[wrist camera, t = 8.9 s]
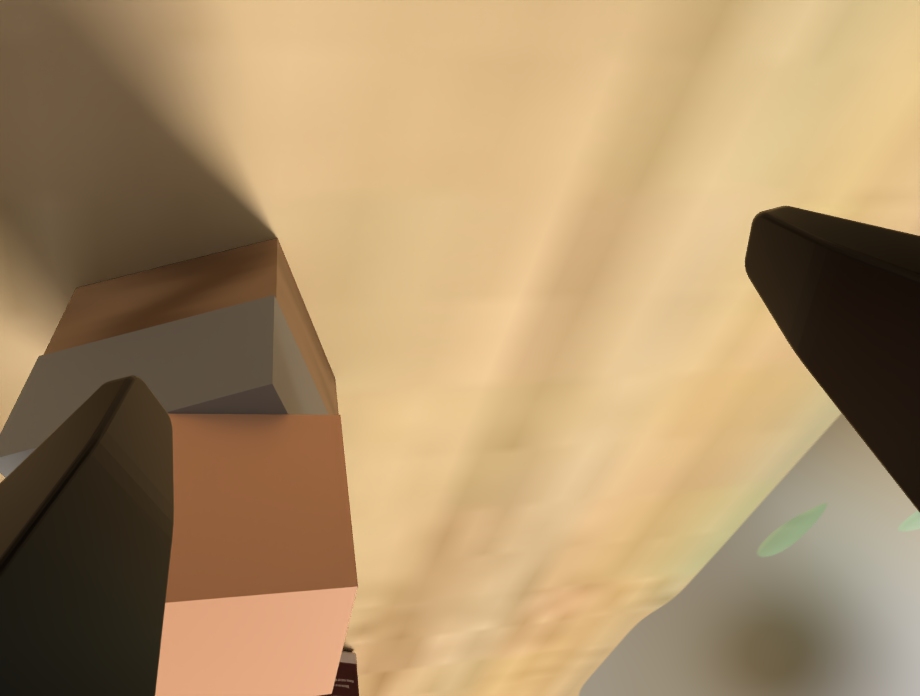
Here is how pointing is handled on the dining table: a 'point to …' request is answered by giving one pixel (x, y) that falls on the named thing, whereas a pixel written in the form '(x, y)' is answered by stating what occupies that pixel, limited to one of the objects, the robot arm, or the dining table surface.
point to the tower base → (196, 302)
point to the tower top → (172, 373)
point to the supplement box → (346, 676)
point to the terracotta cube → (257, 557)
